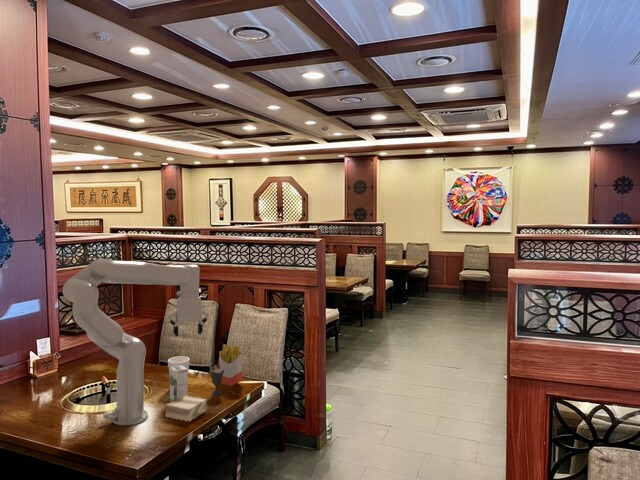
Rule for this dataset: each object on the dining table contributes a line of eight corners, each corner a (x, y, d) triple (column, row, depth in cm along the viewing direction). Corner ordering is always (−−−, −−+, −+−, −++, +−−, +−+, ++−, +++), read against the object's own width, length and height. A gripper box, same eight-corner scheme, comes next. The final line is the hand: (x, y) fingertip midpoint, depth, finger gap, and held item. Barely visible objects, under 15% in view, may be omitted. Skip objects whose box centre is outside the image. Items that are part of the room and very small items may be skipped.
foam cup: (178, 382, 218) (179, 355, 217) (193, 386, 214) (194, 358, 213) (163, 389, 210) (163, 360, 209) (178, 393, 205) (178, 364, 205)
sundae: (221, 396, 202) (221, 362, 201) (206, 395, 204) (206, 361, 203) (227, 391, 209) (227, 358, 208) (213, 389, 210) (213, 357, 209)
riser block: (188, 422, 178) (188, 409, 177) (165, 417, 182) (165, 404, 182) (206, 411, 188) (206, 399, 188) (184, 406, 192) (184, 394, 192)
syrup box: (169, 401, 197) (169, 367, 196) (182, 397, 200) (182, 364, 200) (174, 405, 192) (174, 371, 191) (188, 402, 196) (188, 368, 195)
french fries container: (236, 387, 213) (236, 348, 212) (217, 383, 218) (217, 345, 217) (242, 384, 217) (242, 346, 216) (223, 380, 222) (224, 343, 221)
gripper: (170, 296, 188) (168, 338, 189) (212, 294, 197) (210, 335, 197) (166, 293, 195) (164, 334, 195) (207, 292, 203) (205, 331, 204)
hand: (188, 334), depth 196 cm, fingers open, 9 cm apart
